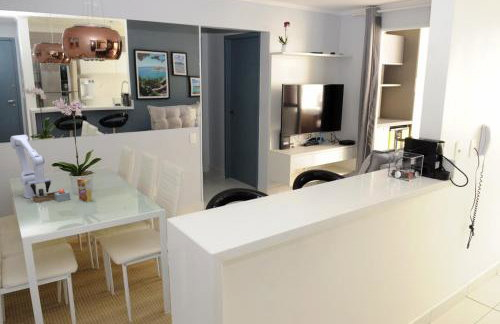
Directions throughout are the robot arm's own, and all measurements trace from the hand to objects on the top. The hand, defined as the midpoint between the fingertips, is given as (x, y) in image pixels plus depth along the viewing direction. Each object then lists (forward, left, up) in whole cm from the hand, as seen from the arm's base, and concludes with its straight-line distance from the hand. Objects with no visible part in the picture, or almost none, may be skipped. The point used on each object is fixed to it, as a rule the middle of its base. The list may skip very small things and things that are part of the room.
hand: (41, 193), depth 268 cm
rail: (0, +5, -5) cm, 7 cm away
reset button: (+8, +10, -1) cm, 14 cm away
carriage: (0, 0, -3) cm, 3 cm away
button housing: (+8, +10, -5) cm, 14 cm away
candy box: (+20, +21, -5) cm, 30 cm away
